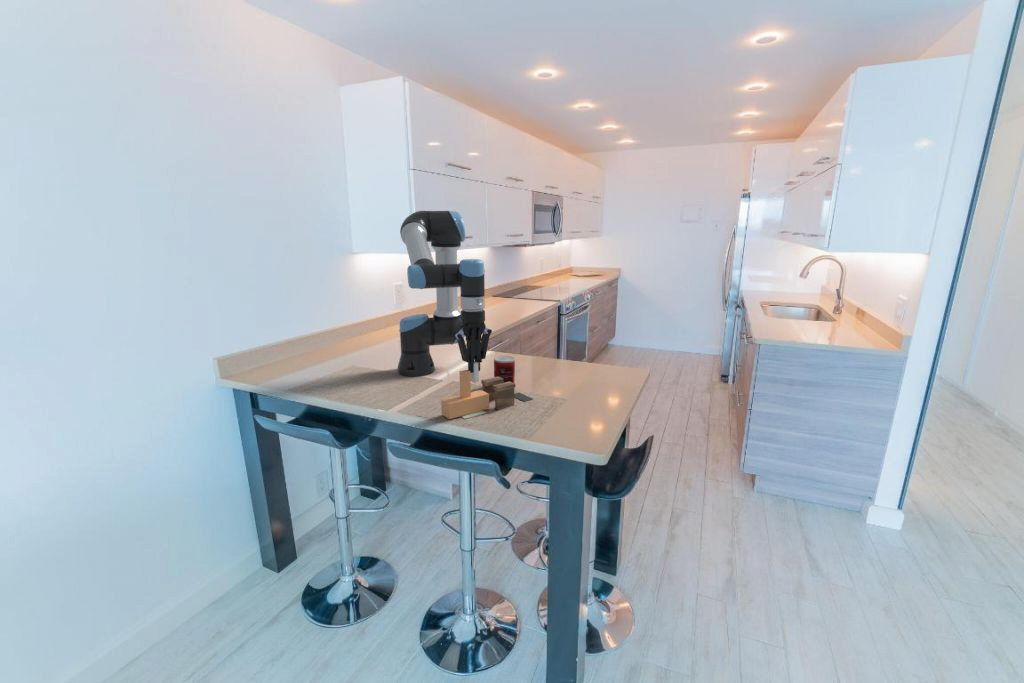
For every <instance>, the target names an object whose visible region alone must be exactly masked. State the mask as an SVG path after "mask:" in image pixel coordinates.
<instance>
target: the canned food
mask: <svg viewBox="0 0 1024 683" xmlns="http://www.w3.org/2000/svg"><path fill="white" fill-rule="evenodd" d="M515 365H516V362H515V357H513V356H509V355H499V356H495V357H494V359H493V378H494V377H501V378H503V379H504V382H502V383H505V382H509V381H510V382H512V383H514V384H515V385H516V383H515V380H516V379H515V377H516V376H515V373H516V369H515V368H516V366H515Z"/></svg>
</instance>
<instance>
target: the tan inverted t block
mask: <svg viewBox="0 0 1024 683" xmlns="http://www.w3.org/2000/svg"><path fill="white" fill-rule="evenodd" d="M458 374H459V394H457V395H455V396H449V397H446V398H440V399H441V400H440V402H441V404H440V405H441V406H440V408H441V415H442V416H444V417H445V418H447V419H448V420H452V419H455V418H459V417H461V416H463V415H467V414H470V413H474V412H477V411H481V410H483V411H485V410H488V409H490V402H489V394H488V393H486V392H484V391H483V389H479V390H474V391H471V385H472V384H471V381H470V371H469V370H468V369H464V370H460V371H459V373H458Z"/></svg>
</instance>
